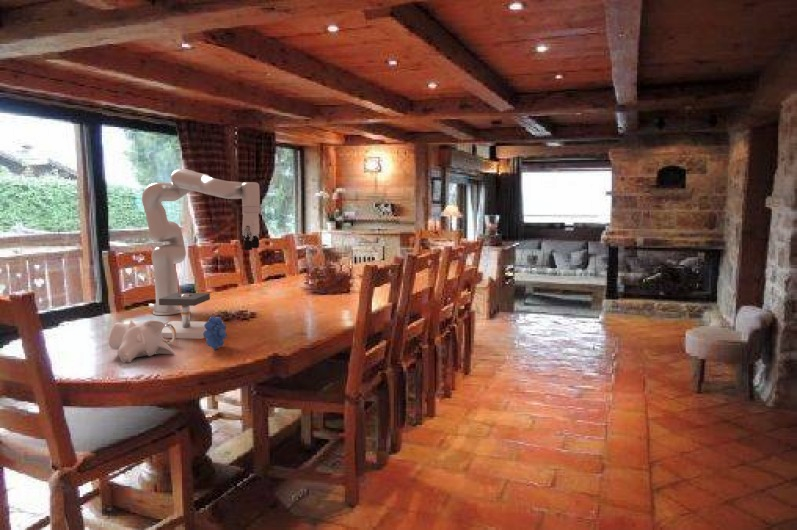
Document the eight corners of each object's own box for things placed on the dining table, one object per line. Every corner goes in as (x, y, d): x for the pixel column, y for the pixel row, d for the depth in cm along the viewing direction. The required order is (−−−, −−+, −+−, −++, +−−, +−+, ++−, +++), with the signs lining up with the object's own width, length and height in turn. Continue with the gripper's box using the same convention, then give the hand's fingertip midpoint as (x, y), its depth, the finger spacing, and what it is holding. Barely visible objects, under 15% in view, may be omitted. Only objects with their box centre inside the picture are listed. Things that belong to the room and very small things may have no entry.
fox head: (87, 343, 170) (152, 340, 170) (112, 314, 185) (172, 310, 185) (102, 378, 177) (163, 374, 176) (125, 346, 192) (182, 343, 191)
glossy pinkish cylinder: (179, 327, 215) (178, 295, 214) (184, 325, 219) (182, 293, 217) (188, 328, 215) (187, 295, 213) (192, 325, 219) (191, 294, 217)
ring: (178, 344, 198) (177, 322, 197) (171, 346, 195) (170, 324, 194) (163, 342, 201) (162, 321, 200) (156, 344, 198) (155, 322, 197)
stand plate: (146, 337, 208) (146, 332, 208) (172, 325, 228) (172, 320, 228) (202, 338, 206) (202, 333, 206) (223, 326, 226) (223, 321, 226)
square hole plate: (159, 305, 209) (158, 298, 209) (176, 298, 223) (176, 292, 223) (194, 305, 208) (194, 299, 208) (209, 299, 222) (209, 293, 222)
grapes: (216, 354, 185) (214, 319, 184) (199, 352, 187) (197, 318, 186) (235, 346, 196) (234, 313, 195) (219, 344, 198) (218, 312, 197)
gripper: (249, 210, 250) (250, 247, 252) (235, 210, 233) (237, 250, 235) (265, 210, 250) (266, 247, 252) (253, 210, 233) (254, 250, 235)
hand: (252, 248), depth 243 cm, fingers open, 9 cm apart
